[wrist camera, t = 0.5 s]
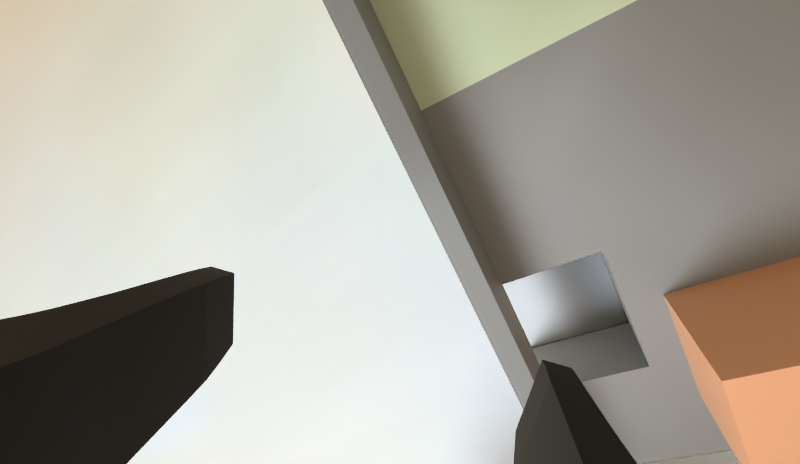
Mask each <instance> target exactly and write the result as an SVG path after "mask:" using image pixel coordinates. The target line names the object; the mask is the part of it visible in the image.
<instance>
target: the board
mask: <svg viewBox="0 0 800 464" xmlns="http://www.w3.org/2000/svg"><path fill="white" fill-rule="evenodd" d="M323 2H324V4H325V6H326V8H327V10H328V13H329V15H330V17H331V19H332V21H333V23H334V25H335V27H336V29H337V31H338V33H339V35H340V37H341V39H342V41H343V43H344V45H345V47H346V49H347V51H348V53H349V55H350V57H351V59H352V61H353V63H354V65H355V68H356V70H357V72H358V74H359V76H360V78H361V80H362V82H363V84H364V86H365V88H366V90H367V92H368V94H369V96H370V98H371V100H372V102H373V104H374V106H375V108H376V110H377V112H378V114H379V116H380V118H381V120H382V123H383V125H384V127H385V129H386V131H387V133H388V135H389V137H390V139H391V141H392V143H393V145H394V147H395V149H396V151H397V153H398V155H399V157H400V159H401V161H402V163H403V165H404V167H405V169H406V171H407V173H408V175H409V177H410V180H411V182H412V184H413V186H414V188H415V190H416V192H417V194H418V196H419V198H420V200H421V202H422V204H423V206H424V208H425V210H426V212H427V214H428V216H429V218H430V220H431V222H432V224H433V226H434V228H435V230H436V232H437V235H438V237H439V239H440V241H441V243H442V245H443V247H444V249H445V251H446V253H447V255H448V257H449V259H450V261H451V263H452V265H453V267H454V269H455V271H456V273H457V275H458V277H459V279H460V281H461V283H462V285H463V287H464V289H465V292H466V294H467V296H468V298H469V300H470V302H471V304H472V306H473V308H474V310H475V312H476V314H477V316H478V318H479V320H480V322H481V324H482V326H483V328H484V330H485V332H486V334H487V336H488V338H489V340H490V342H491V344H492V347H493V349H494V351H495V353H496V355H497V357H498V359H499V361H500V363H501V365H502V367H503V369H504V371H505V373H506V375H507V377H508V379H509V381H510V383H511V385H512V387H513V389H514V391H515V393H516V395H517V397H518V399H519V401H520V404H521V406H522V408H523V410H524V408H525V405H526V402H527V399H528V397H529V394H530V391H531V389H532V386H533V383H534V380H535V378H536V375H537V372H538V370H539V367H540V364H541V361H542V360H546V361H549V362H553V363H556V364H560V365H563V366H567V367H571V368H572V369H573V370H574V372H575V373H576V375H577V376H578V378H579V379H580V381H581V382H582V384H583V385H584V387H585V388H586V390H587V391H588V393H589V394H590V396H591V397H592V399H593V400H594V402H595V403H596V405H597V406H598V408H599V409H600V411H601V412H602V414H603V415H604V417H605V418H606V420H607V421H608V423H609V424H610V426H611V427H612V429H613V430H614V432H615V433H616V434H617V436H618V437H619V439H620V440H621V442H622V443H623V444H624V446H625V447H626V449H627V450H628V451H629V453H630V454H631V456H632V457H633V458H634V460H635V461H636V462H637V464H644V463H650V462H657V461H664V460H670V459H677V458H683V457H690V456H696V455H703V454H710V453H716V452H723V451H729V450H732V449H731V448H730V446H729V444H728V443H727V441H726V439H725V437H724V436H723V434H722V432H721V431H720V429H719V427H718V425H717V424H716V422H715V420H714V418H713V417H712V415H711V413H710V412H709V410H708V408H707V406H706V405H705V403H704V401H703V400H702V398H701V396H700V393H699V391H698V388H697V385H696V383H695V380H694V377H693V374H692V372H691V369H690V366H689V364H688V361H687V358H686V355H685V353H684V350H683V347H682V344H681V342H680V339H679V336H678V334H677V331H676V328H675V325H674V323H673V320H672V317H671V315H670V312H669V309H668V306H667V304H666V301H665V298H664V295H663V294H667V293H671V292H674V291H678V290H681V289H685V288H689V287H692V286H696V285H699V284H703V283H707V282H710V281H714V280H717V279H721V278H725V277H728V276H732V275H735V274H739V273H743V272H746V271H750V270H753V269H757V268H761V267H764V266H768V265H771V264H775V263H779V262H782V261H786V260H789V259H793V258H797V257H800V0H323ZM600 252H601V254H602V256H603V259H604V261H605V264H606V266H607V269H608V271H609V274H610V276H611V279H612V281H613V284H614V286H615V289H616V291H617V294H618V296H619V299H620V302H621V304H622V307H623V309H624V312H625V314H626V317H627V319H628V322H629V323H625V324H621V325H617V326H614V327H610V328H606V329H602V330H599V331H595V332H591V333H587V334H583V335H580V336H576V337H572V338H568V339H564V340H561V341H557V342H553V343H549V344H545V345H542V346H538V347H534V348H531V345H530V343H529V341H528V339H527V337H526V335H525V333H524V330H523V328H522V326H521V324H520V322H519V320H518V318H517V315H516V313H515V311H514V309H513V307H512V305H511V303H510V300H509V298H508V296H507V294H506V292H505V290H504V287H503V285H502V284H504V283H507V282H510V281H514V280H517V279H520V278H523V277H526V276H529V275H532V274H535V273H538V272H541V271H544V270H547V269H550V268H553V267H557V266H560V265H563V264H566V263H569V262H572V261H575V260H578V259H581V258H584V257H587V256H590V255H593V254H597V253H600Z"/></svg>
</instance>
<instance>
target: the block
mask: <svg viewBox="0 0 800 464" xmlns="http://www.w3.org/2000/svg"><path fill="white" fill-rule="evenodd" d="M663 295H664V298H665V301H666V304H667V306H668V309H669V312H670V315H671V317H672V320H673V323H674V325H675V328H676V331H677V334H678V336H679V339H680V342H681V344H682V347H683V350H684V353H685V355H686V358H687V361H688V364H689V366H690V369H691V372H692V374H693V377H694V380H695V383H696V385H697V388H698V391H699V393H700V396H701V398H702V400H703V401H704V403H705V405H706V406H707V408H708V410H709V412H710V413H711V415H712V417H713V418H714V420H715V422H716V424H717V425H718V427H719V429H720V431H721V432H722V434H723V436H724V437H725V439H726V441H727V443H728V444H729V446H730V448H731V449H732V451H733V453H734V455H735V456H736V458H737V460H738V462H739V463H740V464H800V257H797V258H793V259H789V260H786V261H782V262H779V263H775V264H771V265H768V266H764V267H761V268H757V269H753V270H750V271H746V272H743V273H739V274H735V275H732V276H728V277H725V278H721V279H717V280H714V281H710V282H707V283H703V284H699V285H696V286H692V287H689V288H685V289H681V290H678V291H674V292H671V293H667V294H663Z"/></svg>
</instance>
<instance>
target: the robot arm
mask: <svg viewBox="0 0 800 464" xmlns="http://www.w3.org/2000/svg"><path fill="white" fill-rule="evenodd" d="M233 307H234V273H231V272H228V271H224V270H221V269H217V268H214V267H208V268H202V269H198V270H194V271H190V272H186V273H182V274H178V275H175V276H171V277H168V278H164V279H161V280H157V281H154V282H150V283H147V284H143V285H140V286H136V287H133V288H129V289H126V290H122V291H119V292H115V293H112V294H108V295H104V296H100V297H96V298H92V299H88V300H85V301H81V302H77V303H73V304H69V305H65V306H61V307H57V308H53V309H49V310H45V311H40V312H36V313H31V314H26V315H22V316H17V317H11V318H6V319H1V320H0V464H127V463H128V462H129V460H130V459H131V458H132V457H133V456H134V455H135V454H136V453H137V452H138V451H139V450H140V449H141V448H142V447H143V446H144V445H145V444H146V443H147V442H148V441H149V440H150V438H151V437H152V436H153V435H154V434H155V433H156V432H157V431H158V430H159V429H160V428H161V427H162V426H163V425H164V424H165V423H166V422H167V421H168V420H169V419H170V418H171V417H172V416H173V415H174V414H175V412H176V411H177V410H178V409H179V408H180V407H181V406H182V405H183V404H184V403H185V402H186V401H187V400H188V399H189V398H190V397H191V396H192V395H193V394H194V392H195V391H196V390H197V389H198V388H199V387H200V386H201V385H202V384H203V383H204V382H205V381H206V380H207V378H208V377H209V376H210V374H211V373H212V372H213V370H214V369H215V368H216V367H217V365H218V364H219V363H220V361H221V360H222V358H223V357H224V355H225V354H226V353H227V351H228V350H229V348H230V347H231V346H232V344H233ZM514 464H637V462H636V461H635V460H634V458H633V457H632V456H631V454H630V453H629V451H628V450H627V449H626V447H625V446H624V444H623V443H622V442H621V440H620V439H619V437H618V436H617V434H616V433H615V432H614V430H613V429H612V427H611V426H610V424H609V423H608V421H607V420H606V418H605V417H604V415H603V414H602V412H601V411H600V409H599V408H598V406H597V405H596V403H595V402H594V400H593V399H592V397H591V396H590V394H589V393H588V391H587V390H586V388H585V387H584V385H583V384H582V382H581V381H580V379H579V378H578V376H577V375H576V373H575V372H574V370H573V369H572V368H571V367H567V366H563V365H560V364H556V363H553V362H549V361H546V360H542V361H541V364H540V367H539V370H538V372H537V375H536V378H535V380H534V383H533V386H532V389H531V391H530V394H529V397H528V399H527V402H526V405H525V408H524V410H523V413H522V416H521V418H520V421H519V424H518V427H517V429H516V438H515V453H514Z"/></svg>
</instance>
